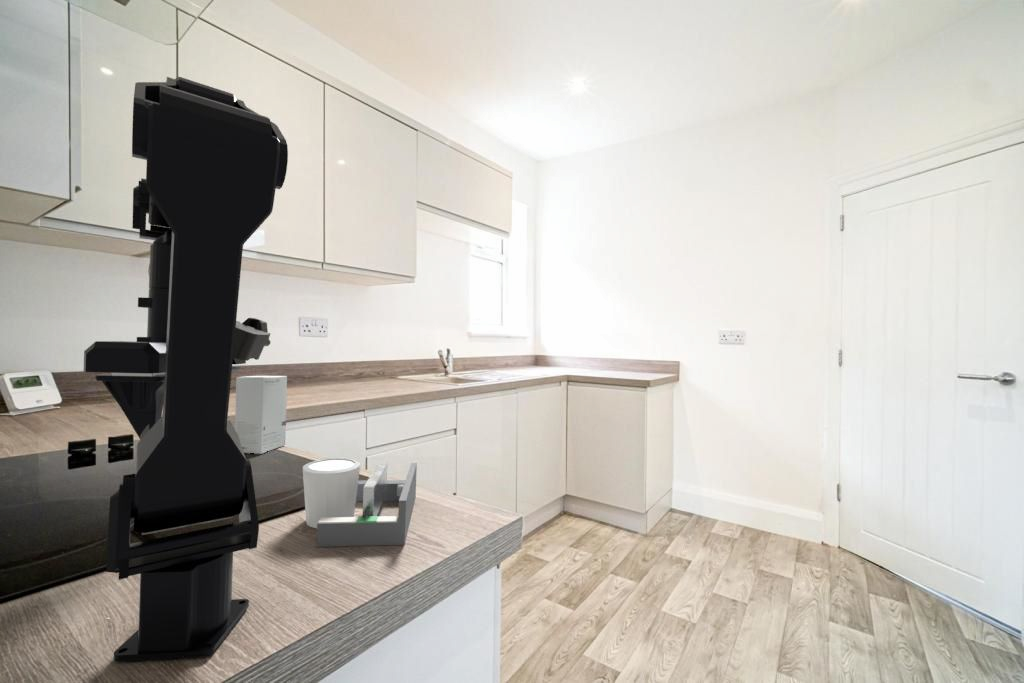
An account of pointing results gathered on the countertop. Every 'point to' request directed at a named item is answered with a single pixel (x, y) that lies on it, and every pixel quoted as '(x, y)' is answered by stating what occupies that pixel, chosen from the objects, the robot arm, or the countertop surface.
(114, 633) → the countertop surface
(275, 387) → the skincare box
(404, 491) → the frame
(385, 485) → the flat metal bar
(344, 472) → the white tapered cup
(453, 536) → the countertop surface
